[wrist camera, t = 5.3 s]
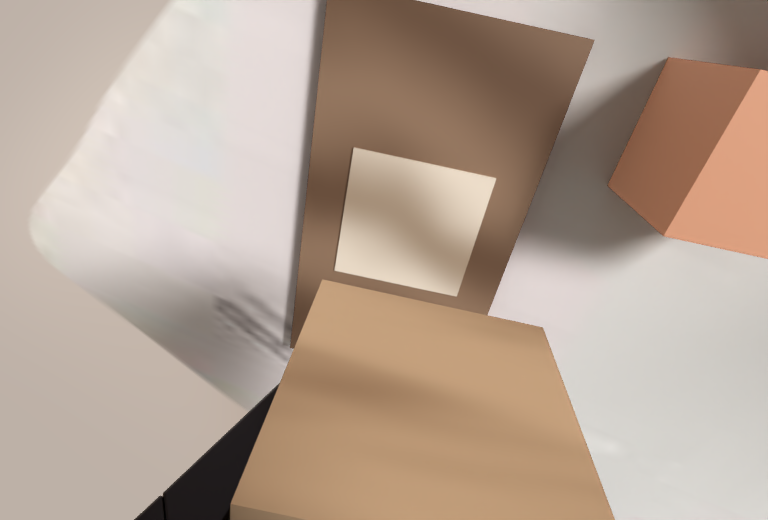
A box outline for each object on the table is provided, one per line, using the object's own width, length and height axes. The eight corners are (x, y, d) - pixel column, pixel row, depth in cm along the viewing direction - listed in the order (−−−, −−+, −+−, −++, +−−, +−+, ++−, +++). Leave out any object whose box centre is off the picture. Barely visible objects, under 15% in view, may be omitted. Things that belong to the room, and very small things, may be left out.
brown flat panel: (459, 375, 24) (460, 384, 23) (293, 340, 24) (289, 349, 23) (588, 39, 15) (595, 40, 15) (332, -18, 15) (328, -20, 15)
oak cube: (474, 464, 12) (501, 718, 8) (299, 427, 12) (225, 663, 7) (542, 327, 9) (640, 589, 5) (322, 279, 9) (231, 503, 5)
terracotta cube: (720, 209, 18) (813, 268, 14) (606, 185, 18) (663, 236, 14) (799, 86, 16) (942, 110, 11) (667, 57, 16) (760, 69, 11)
